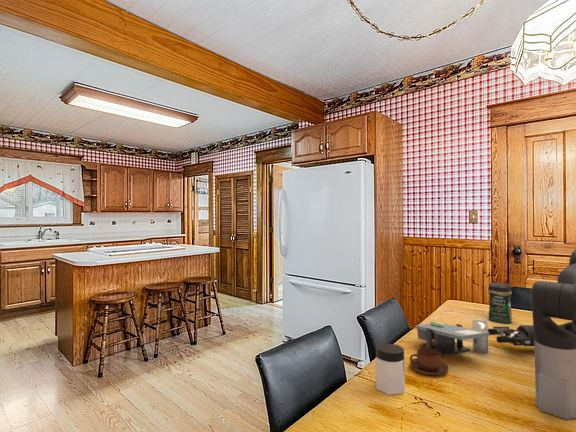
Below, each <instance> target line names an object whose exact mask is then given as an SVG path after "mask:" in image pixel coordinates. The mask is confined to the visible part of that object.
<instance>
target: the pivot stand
mask: <svg viewBox="0 0 576 432" xmlns="http://www.w3.org/2000/svg"><path fill="white" fill-rule="evenodd" d="M455 326H459V327H463V325H462V324H460V323H457V324H456V325H455ZM434 337H435V340H434V344H433V340H432V329H430V328H426V341H425V342H426V345H421V346H420V348H431V349H435V350H437V351H439V352H440V353H441V357H442V356H449V355H455V354H456V355H457V354H463V353H469V352H471V348H470V347H468V346H465V345H464V340H459V339H455V338H451V337H447V336H443V335H439V334H435V333H434ZM420 348H419V349H420Z"/></svg>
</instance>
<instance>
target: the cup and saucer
mask: <svg viewBox="0 0 576 432" xmlns="http://www.w3.org/2000/svg"><path fill="white" fill-rule="evenodd" d="M413 357H415V358H413ZM441 358H442V356H441V353H440V352H439V351H437V350H435V349H431V348H418V349H417V350H416V353H413V354H411V355H410V356H409V365H410V366H411V367H412V369H414V370H415V371H416V372H419V373H421V374H425V375H428V376H429V375H430V376H438V375H439V376H440V375H443V374H446V373H447V372H449V365H448V364H447V363H446V362H444V361H442V360H441Z"/></svg>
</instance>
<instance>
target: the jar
mask: <svg viewBox="0 0 576 432" xmlns="http://www.w3.org/2000/svg"><path fill="white" fill-rule="evenodd" d="M374 359H375V389H376V390H378V391H380V392H382V393H384V394H385V395H388V396H390V395H403V394H404V391H405V388H406V376H405V375H406V373H405V372H406V371H405V367H406V366H405V349H404V348H403V346H401V345H399V344H396V343H387V342H386V343H379V344H377V345H376V346H375V358H374Z"/></svg>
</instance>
